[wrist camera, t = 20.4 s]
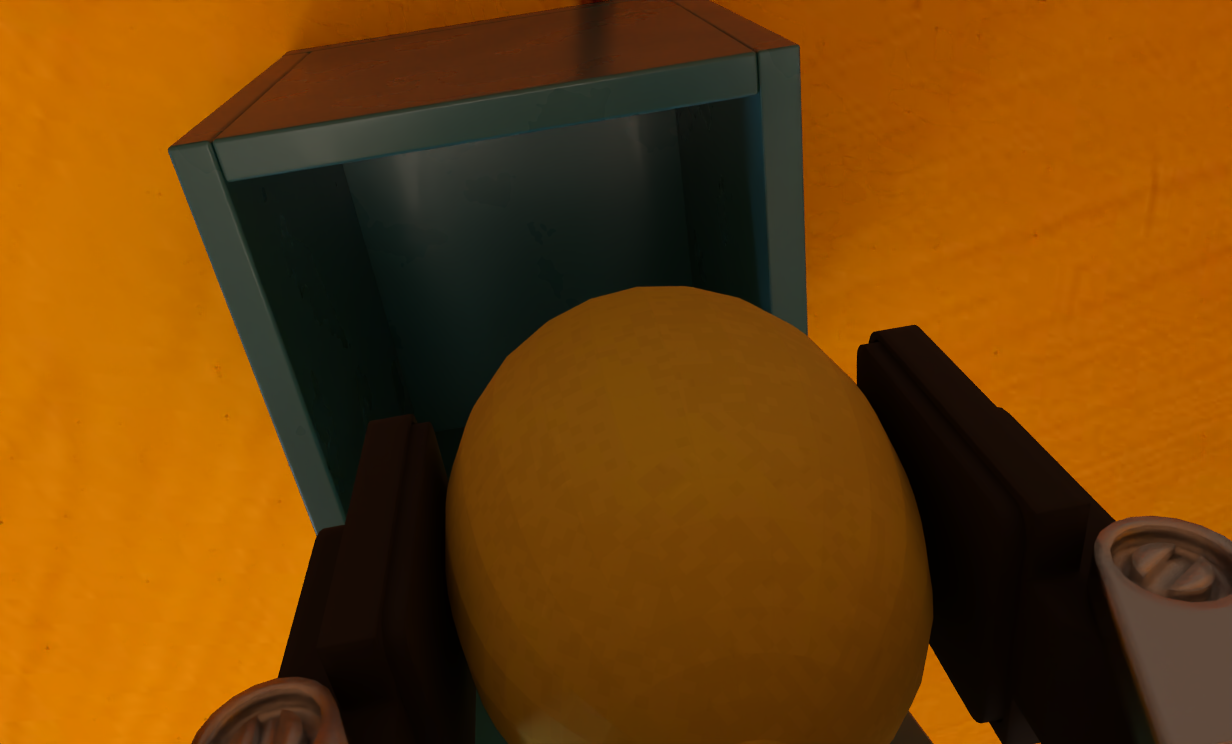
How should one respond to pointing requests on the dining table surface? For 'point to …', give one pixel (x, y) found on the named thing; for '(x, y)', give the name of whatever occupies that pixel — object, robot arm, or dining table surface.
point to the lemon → (684, 535)
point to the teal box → (486, 204)
